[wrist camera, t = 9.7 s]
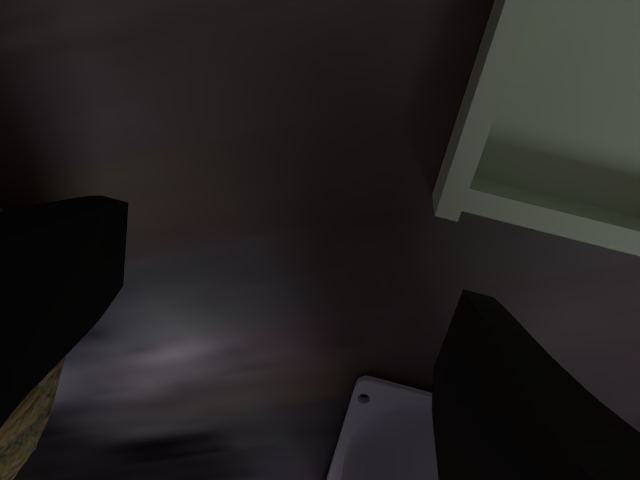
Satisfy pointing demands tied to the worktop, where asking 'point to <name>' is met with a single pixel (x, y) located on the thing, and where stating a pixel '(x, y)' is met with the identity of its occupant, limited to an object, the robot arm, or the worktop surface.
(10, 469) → the ribbed pale melon
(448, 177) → the parts tray
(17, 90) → the worktop surface
